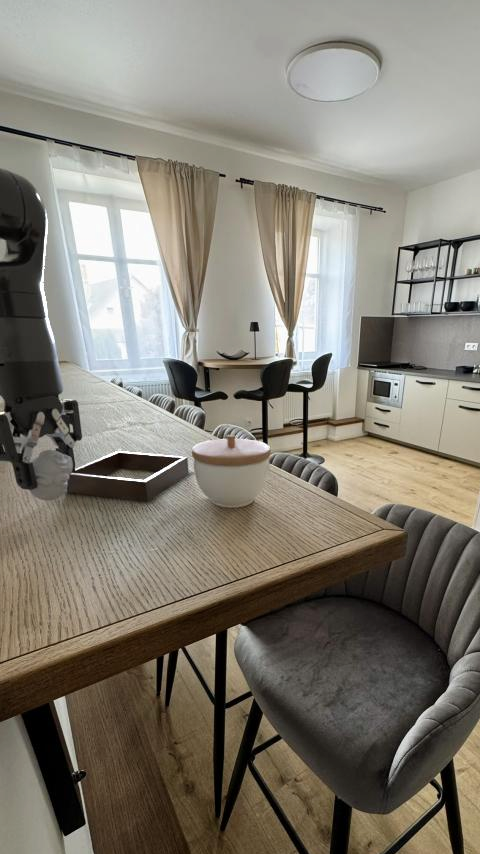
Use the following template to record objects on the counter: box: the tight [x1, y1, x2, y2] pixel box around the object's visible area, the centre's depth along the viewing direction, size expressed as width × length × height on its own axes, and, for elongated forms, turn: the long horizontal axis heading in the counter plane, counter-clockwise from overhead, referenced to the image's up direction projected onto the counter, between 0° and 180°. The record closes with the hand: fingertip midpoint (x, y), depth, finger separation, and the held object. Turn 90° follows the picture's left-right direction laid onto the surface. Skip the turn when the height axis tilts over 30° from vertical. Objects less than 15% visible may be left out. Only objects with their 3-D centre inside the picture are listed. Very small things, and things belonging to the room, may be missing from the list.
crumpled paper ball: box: [28, 449, 73, 501], centre depth 58 cm, size 6×7×7 cm
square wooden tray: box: [66, 450, 190, 503], centre depth 76 cm, size 16×16×4 cm
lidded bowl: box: [191, 434, 271, 509], centre depth 68 cm, size 13×13×11 cm
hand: (49, 479), depth 58 cm, fingers closed on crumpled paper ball, 7 cm apart
